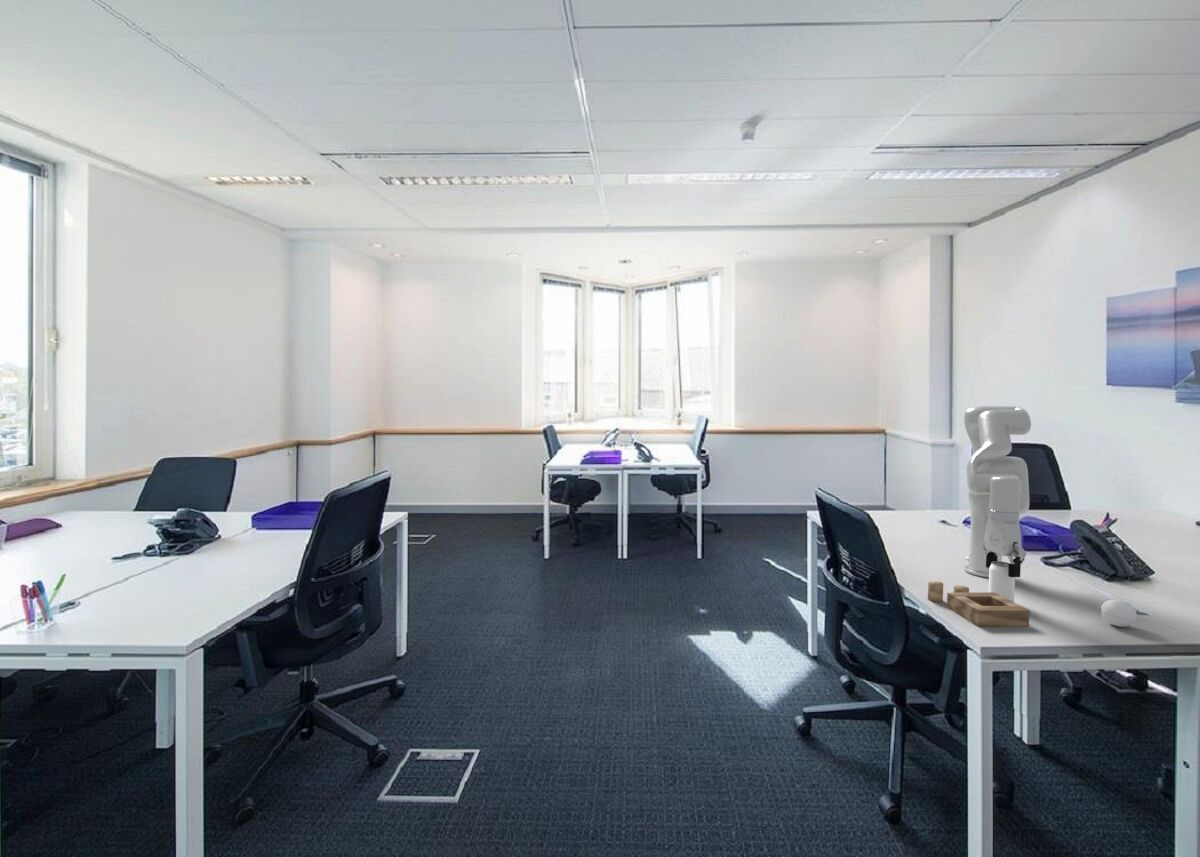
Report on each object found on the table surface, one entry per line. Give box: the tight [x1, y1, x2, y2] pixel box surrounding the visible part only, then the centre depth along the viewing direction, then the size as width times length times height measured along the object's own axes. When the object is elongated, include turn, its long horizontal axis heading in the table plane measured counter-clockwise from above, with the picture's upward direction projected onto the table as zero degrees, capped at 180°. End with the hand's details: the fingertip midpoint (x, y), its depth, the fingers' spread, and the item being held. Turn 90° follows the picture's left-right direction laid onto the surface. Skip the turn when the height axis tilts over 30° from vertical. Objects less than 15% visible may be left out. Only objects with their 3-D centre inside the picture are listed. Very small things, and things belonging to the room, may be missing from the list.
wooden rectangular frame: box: [946, 591, 1031, 627], centre depth 161 cm, size 14×14×4 cm
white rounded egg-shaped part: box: [1100, 598, 1138, 628], centre depth 153 cm, size 10×7×7 cm
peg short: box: [953, 584, 970, 593], centre depth 174 cm, size 4×4×4 cm
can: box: [988, 561, 1016, 603], centre depth 171 cm, size 6×6×12 cm
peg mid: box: [927, 580, 944, 603], centre depth 174 cm, size 4×4×6 cm
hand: (1002, 572), depth 170 cm, fingers open, 9 cm apart
